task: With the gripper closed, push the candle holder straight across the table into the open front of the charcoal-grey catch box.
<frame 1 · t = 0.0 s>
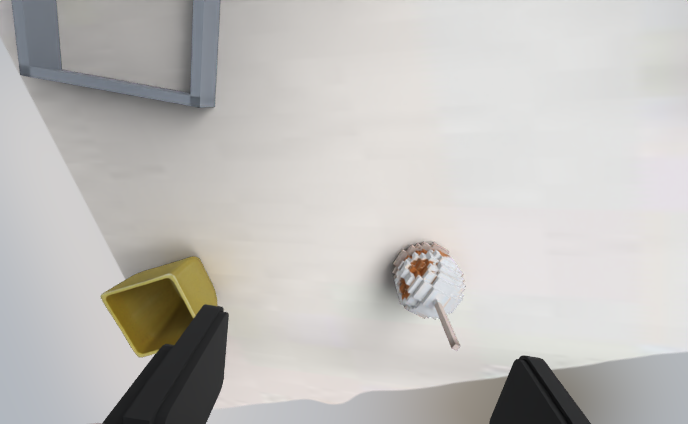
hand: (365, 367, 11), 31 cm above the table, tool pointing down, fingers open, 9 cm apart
flower pot: (191, 276, 46), on the table
catch box: (133, 7, 36), on the table
decorative ornament: (422, 267, 45), on the table
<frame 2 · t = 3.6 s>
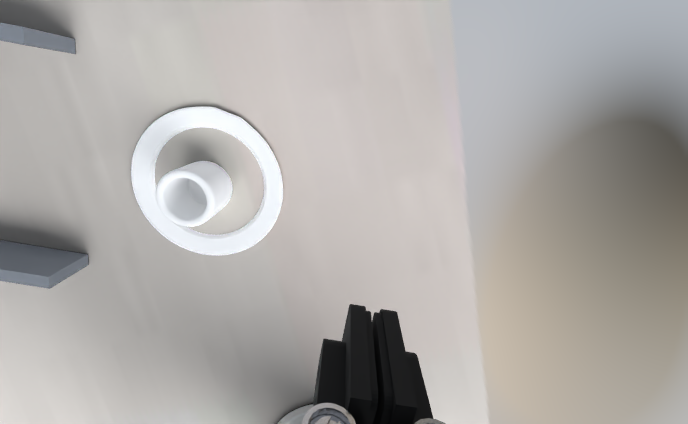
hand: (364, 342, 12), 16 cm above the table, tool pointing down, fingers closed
candle holder: (211, 183, 28), on the table
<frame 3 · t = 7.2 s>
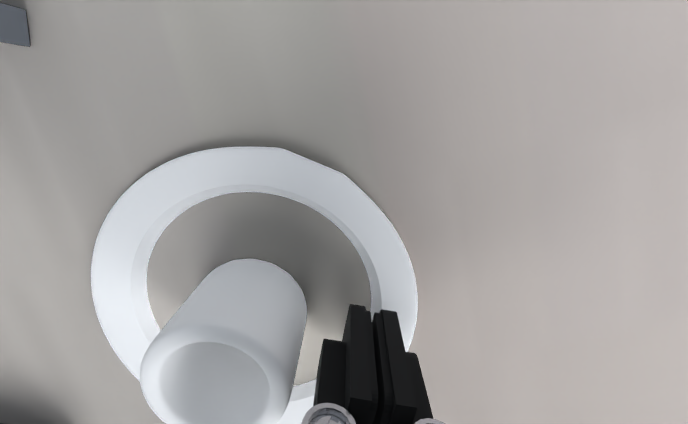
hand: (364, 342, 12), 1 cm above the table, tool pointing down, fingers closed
candle holder: (261, 296, 13), on the table
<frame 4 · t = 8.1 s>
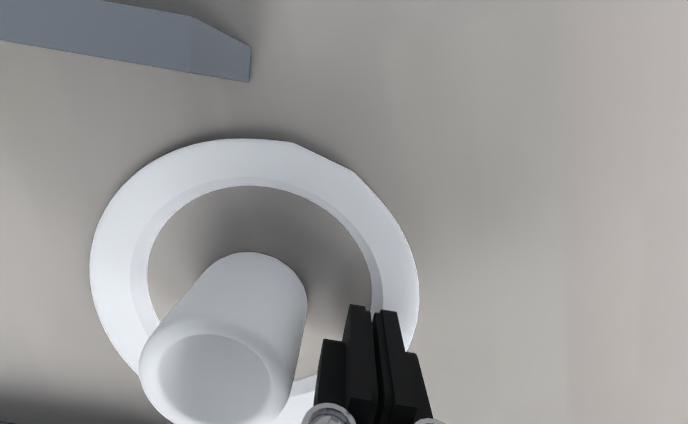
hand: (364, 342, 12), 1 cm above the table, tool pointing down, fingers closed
candle holder: (261, 291, 13), on the table
catch box: (20, 271, 13), on the table
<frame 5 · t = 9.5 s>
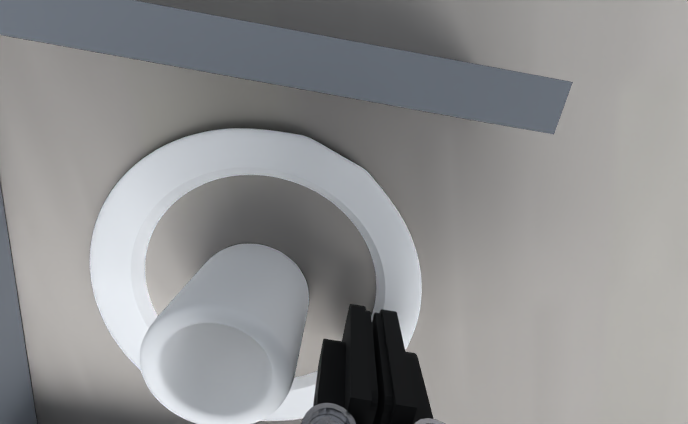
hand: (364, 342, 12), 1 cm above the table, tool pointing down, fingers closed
candle holder: (262, 283, 13), on the table, touching gripper
catch box: (214, 299, 13), on the table
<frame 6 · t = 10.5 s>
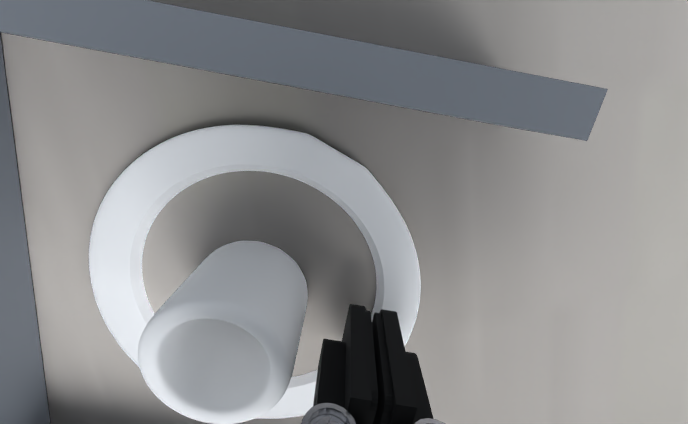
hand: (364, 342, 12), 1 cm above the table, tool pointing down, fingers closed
candle holder: (261, 280, 13), on the table
catch box: (231, 301, 13), on the table
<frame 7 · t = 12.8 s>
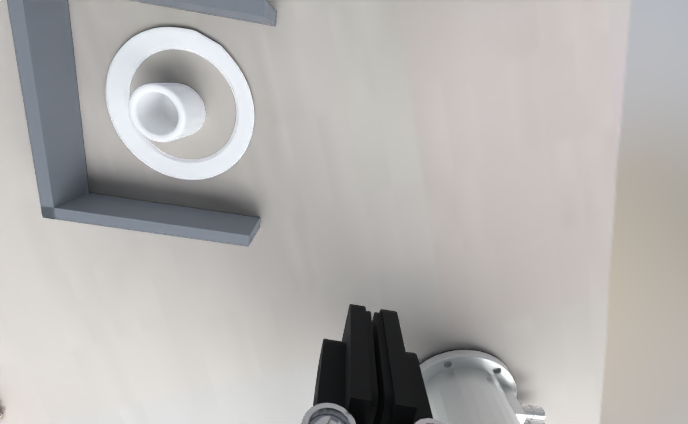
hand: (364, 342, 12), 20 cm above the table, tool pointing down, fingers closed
candle holder: (185, 108, 29), on the table
catch box: (171, 115, 28), on the table
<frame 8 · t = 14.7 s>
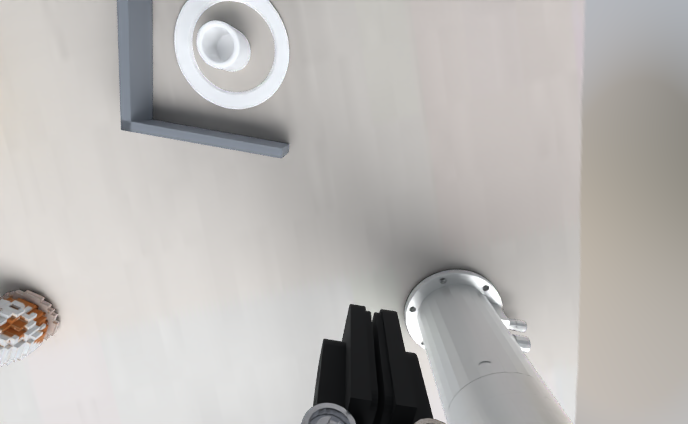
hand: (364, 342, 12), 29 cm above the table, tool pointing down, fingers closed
candle holder: (234, 50, 36), on the table
catch box: (223, 55, 36), on the table
decorative ornament: (34, 311, 47), on the table
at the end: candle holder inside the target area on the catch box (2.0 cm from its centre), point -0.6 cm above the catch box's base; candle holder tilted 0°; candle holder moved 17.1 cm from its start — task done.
